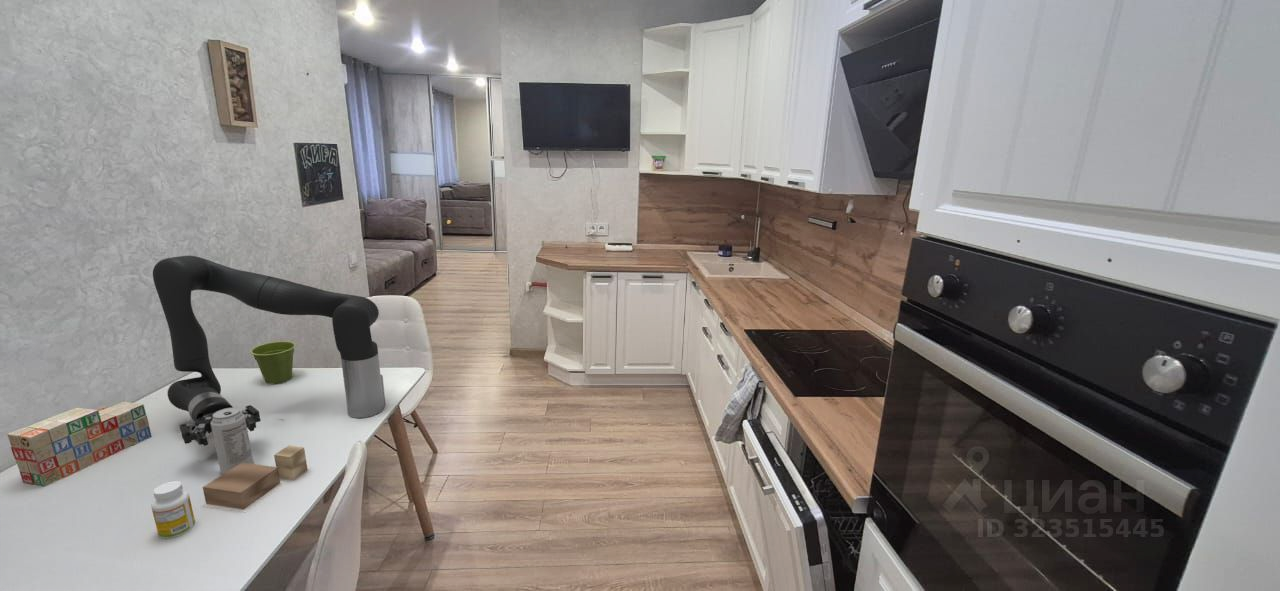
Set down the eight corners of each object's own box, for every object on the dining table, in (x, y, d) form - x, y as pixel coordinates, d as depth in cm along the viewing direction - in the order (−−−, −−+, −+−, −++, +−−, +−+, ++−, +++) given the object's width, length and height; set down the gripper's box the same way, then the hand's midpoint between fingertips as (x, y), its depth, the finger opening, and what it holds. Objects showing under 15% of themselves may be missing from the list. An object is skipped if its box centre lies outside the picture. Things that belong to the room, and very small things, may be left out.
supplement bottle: (173, 521, 101) (163, 478, 99) (202, 520, 102) (193, 478, 99) (151, 540, 96) (139, 496, 94) (181, 539, 97) (171, 495, 94)
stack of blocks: (132, 433, 131) (121, 390, 128) (152, 436, 130) (142, 393, 127) (22, 483, 111) (5, 433, 108) (44, 487, 110) (28, 436, 107)
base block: (244, 478, 115) (242, 462, 113) (280, 483, 113) (277, 467, 112) (206, 503, 106) (202, 487, 105) (243, 509, 105) (240, 492, 104)
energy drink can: (246, 460, 122) (235, 403, 118) (259, 468, 119) (248, 410, 115) (216, 473, 117) (204, 414, 113) (228, 482, 114) (216, 421, 110)
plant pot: (248, 382, 162) (243, 348, 159) (289, 370, 172) (284, 338, 169) (266, 391, 156) (260, 357, 153) (307, 378, 166) (303, 346, 163)
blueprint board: (266, 465, 120) (265, 464, 120) (307, 471, 118) (307, 469, 118) (199, 510, 105) (199, 508, 104) (246, 517, 103) (245, 515, 103)
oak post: (292, 468, 119) (288, 445, 117) (307, 470, 118) (304, 447, 117) (278, 478, 115) (274, 454, 113) (293, 480, 114) (289, 457, 113)
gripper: (169, 407, 120) (185, 431, 110) (243, 388, 130) (264, 408, 120) (176, 435, 121) (192, 462, 112) (248, 414, 132) (269, 436, 122)
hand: (229, 434), depth 116 cm, fingers open, 8 cm apart
